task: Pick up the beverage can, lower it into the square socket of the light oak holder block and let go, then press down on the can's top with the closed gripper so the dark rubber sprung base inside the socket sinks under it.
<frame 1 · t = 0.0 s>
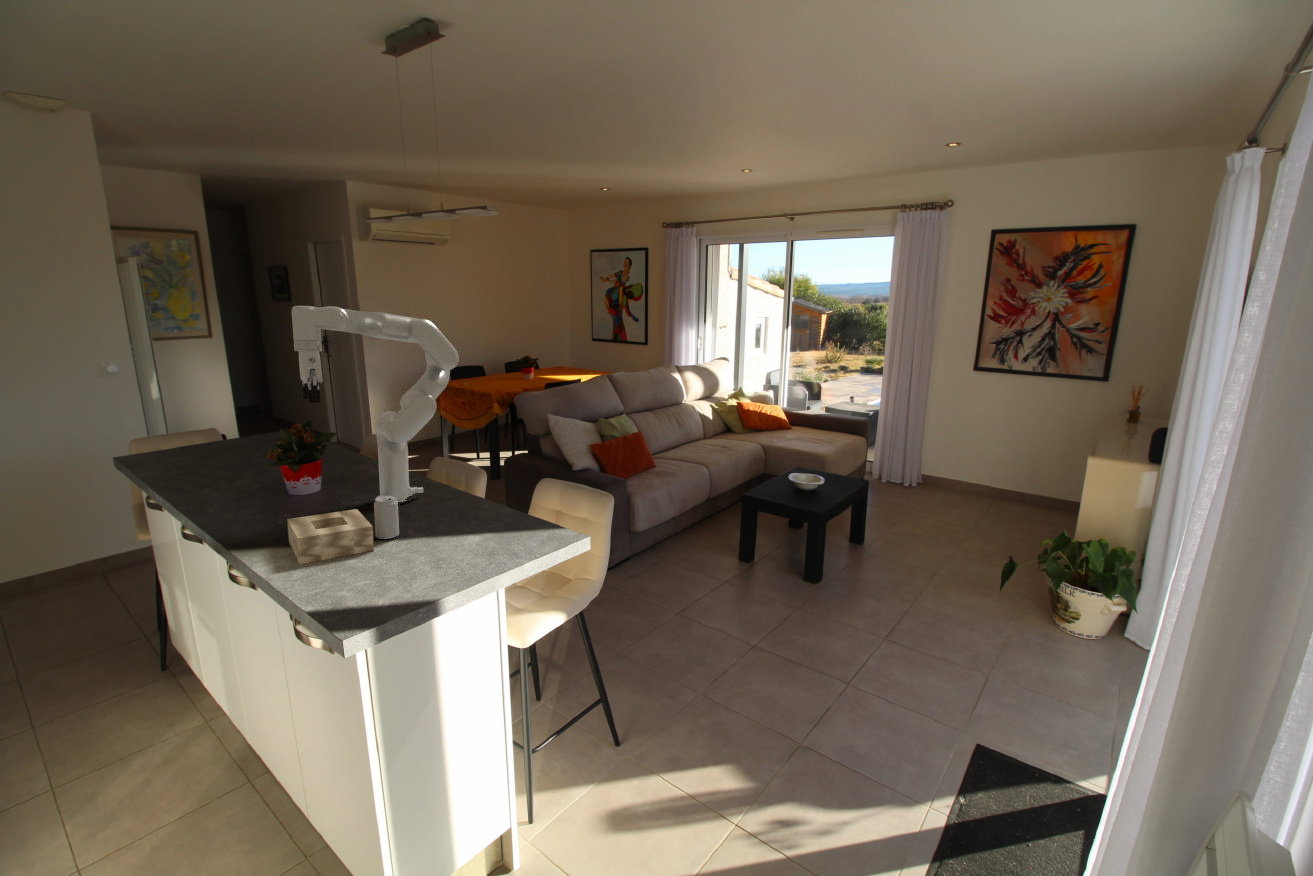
hand: (311, 400, 193), 37 cm above the countertop, tool pointing down, fingers open, 9 cm apart
beverage can: (387, 537, 180), on the countertop
holder block: (331, 547, 170), on the countertop
sprung base: (330, 538, 170), point 3 cm above the countertop, slide at 0.0 cm
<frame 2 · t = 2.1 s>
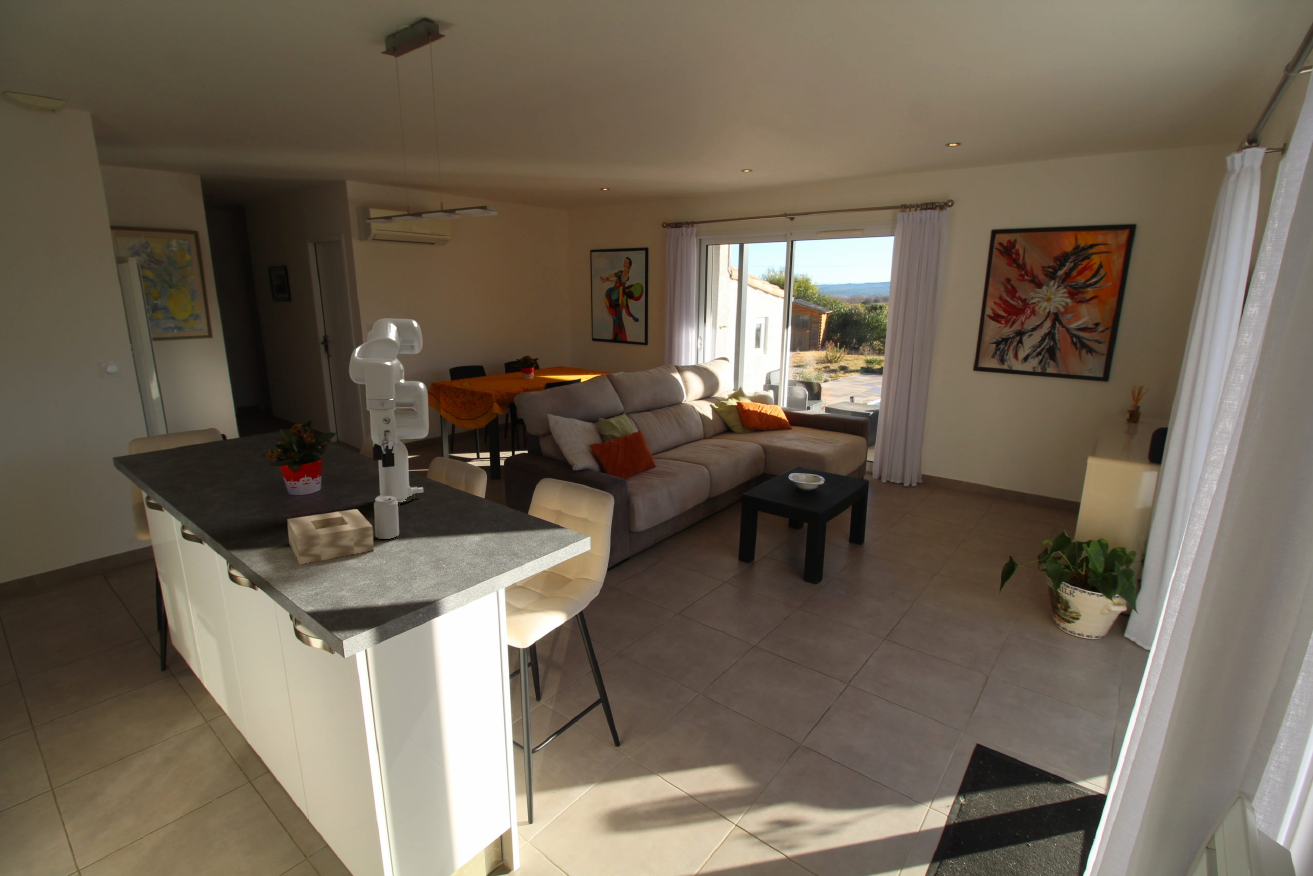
hand: (383, 463, 175), 22 cm above the countertop, tool pointing down, fingers open, 9 cm apart
nothing on the countertop moved.
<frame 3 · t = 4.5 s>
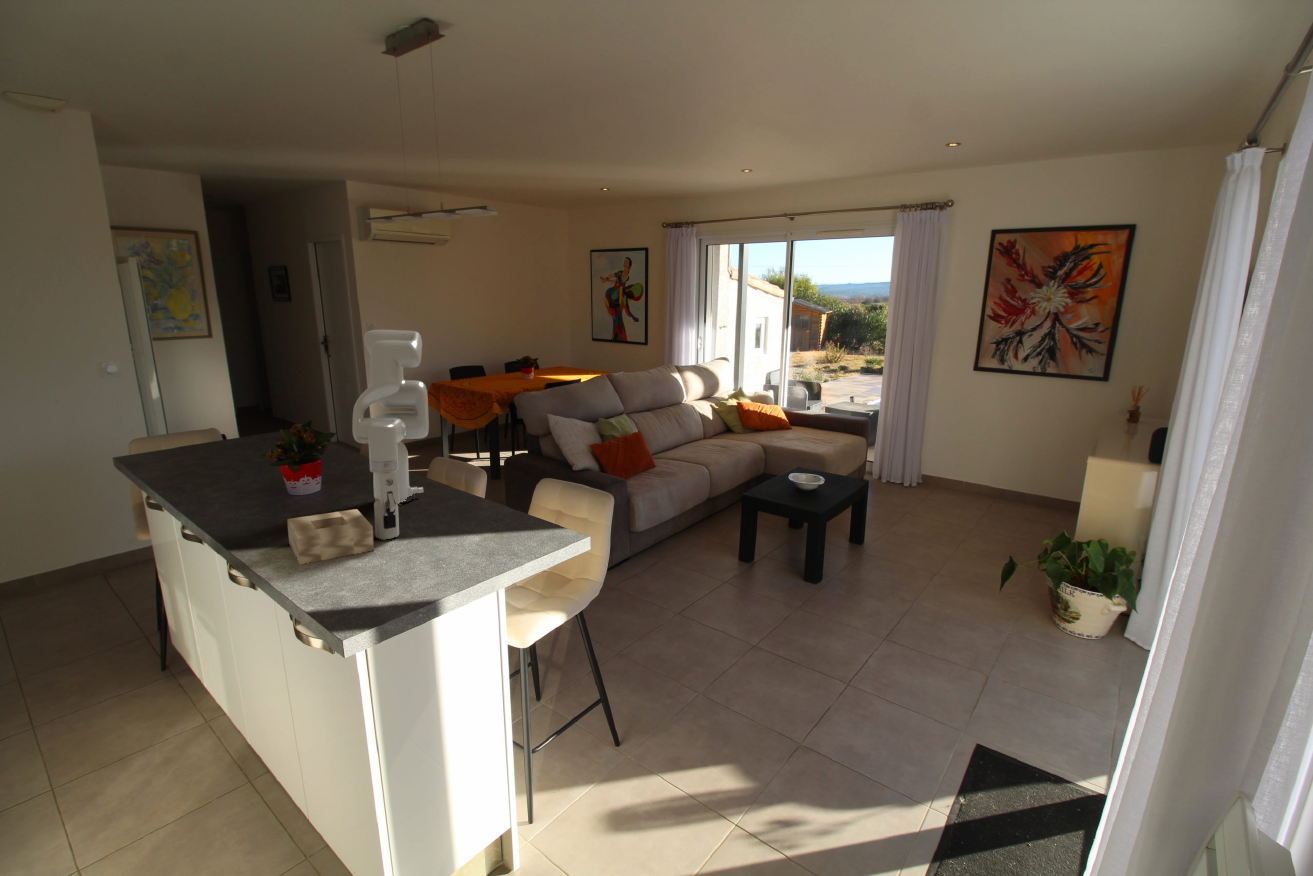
hand: (386, 524, 179), 4 cm above the countertop, tool pointing down, fingers closed on beverage can, 5 cm apart
beverage can: (387, 538, 179), on the countertop, touching gripper
everything else where it was.
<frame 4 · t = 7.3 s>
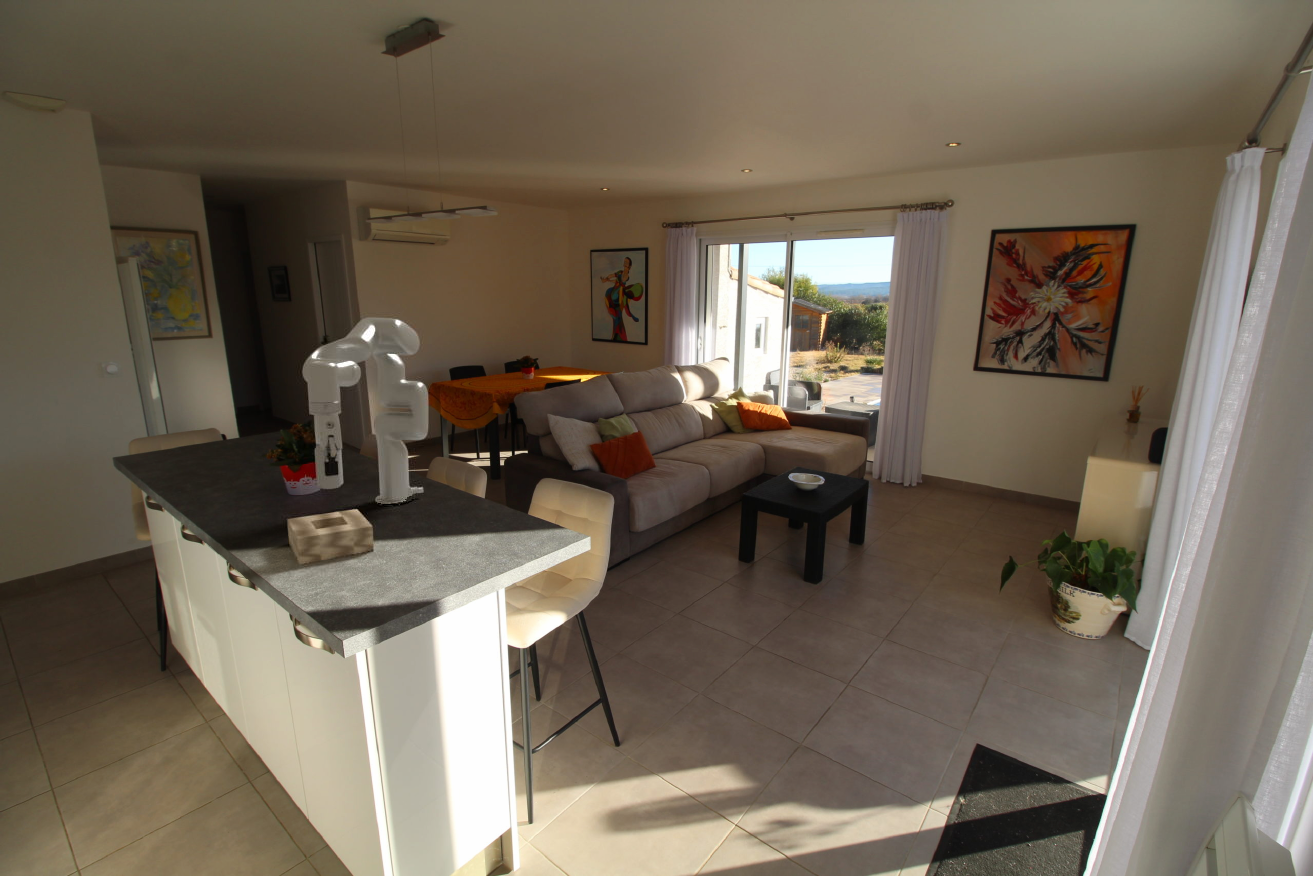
hand: (329, 472, 167), 22 cm above the countertop, tool pointing down, fingers closed on beverage can, 5 cm apart
beverage can: (330, 487, 167), point 17 cm above the countertop, touching gripper
everything else where it was.
when the fingers open (9 cm above the countertop, at t = 10.3 s): beverage can drops 2 cm, resting on sprung base.
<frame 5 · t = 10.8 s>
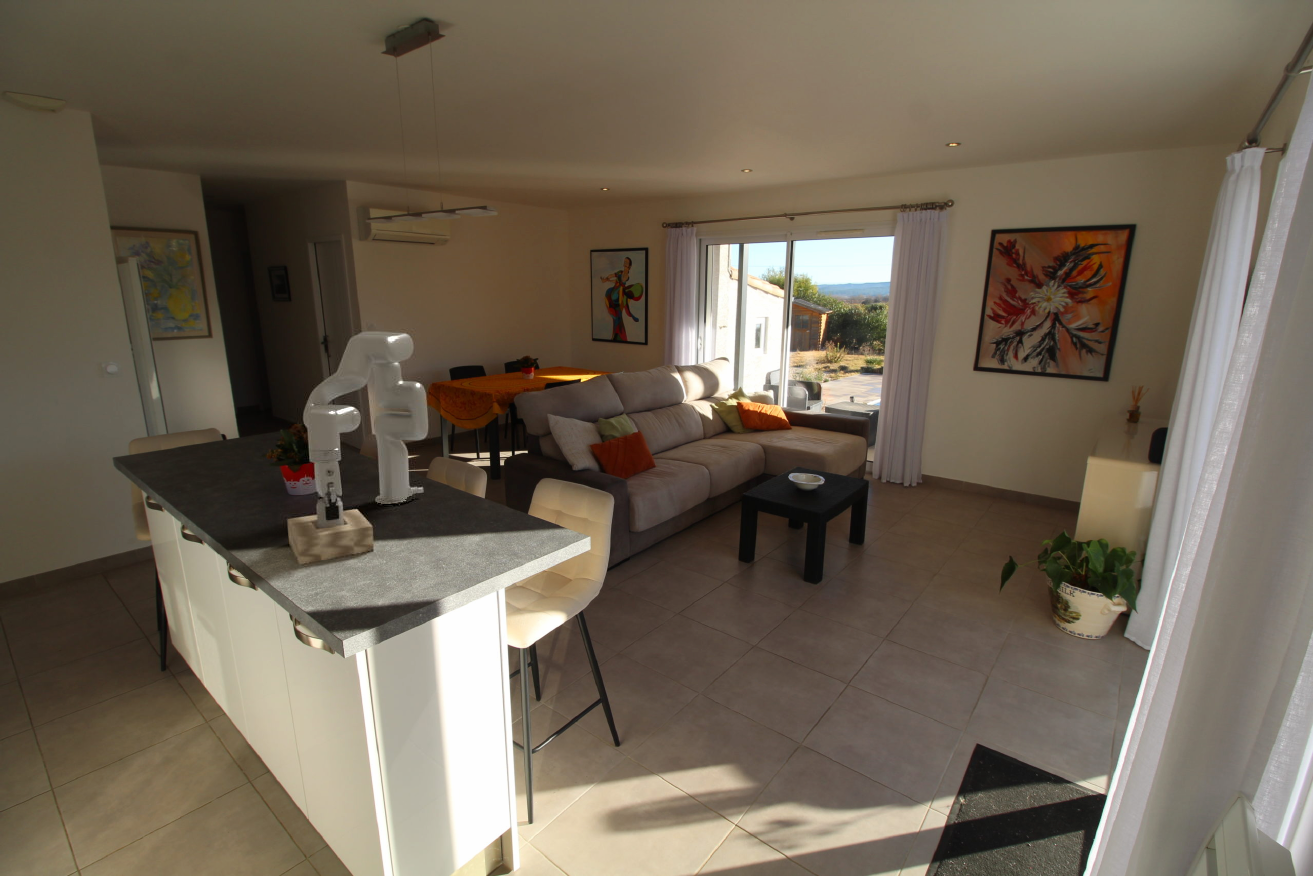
hand: (329, 514, 169), 9 cm above the countertop, tool pointing down, fingers open, 9 cm apart
beverage can: (331, 541, 170), point 2 cm above the countertop, touching sprung base
sprung base: (330, 541, 170), point 2 cm above the countertop, slide at 1.2 cm, touching beverage can
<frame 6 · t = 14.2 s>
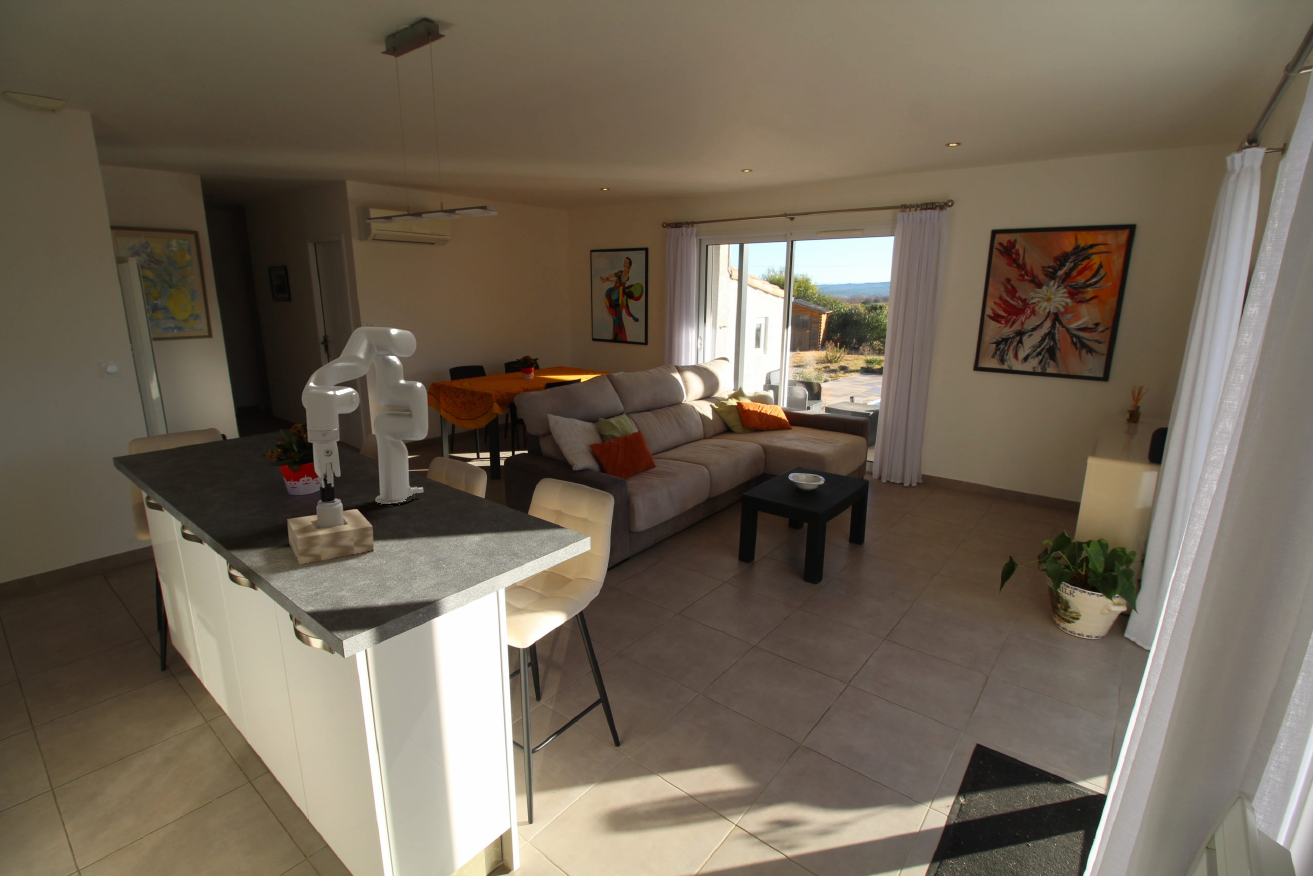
hand: (327, 500, 168), 14 cm above the countertop, tool pointing down, fingers closed
beverage can: (331, 542, 170), point 1 cm above the countertop, touching gripper, sprung base
sprung base: (330, 543, 170), point 1 cm above the countertop, slide at 1.6 cm, touching beverage can
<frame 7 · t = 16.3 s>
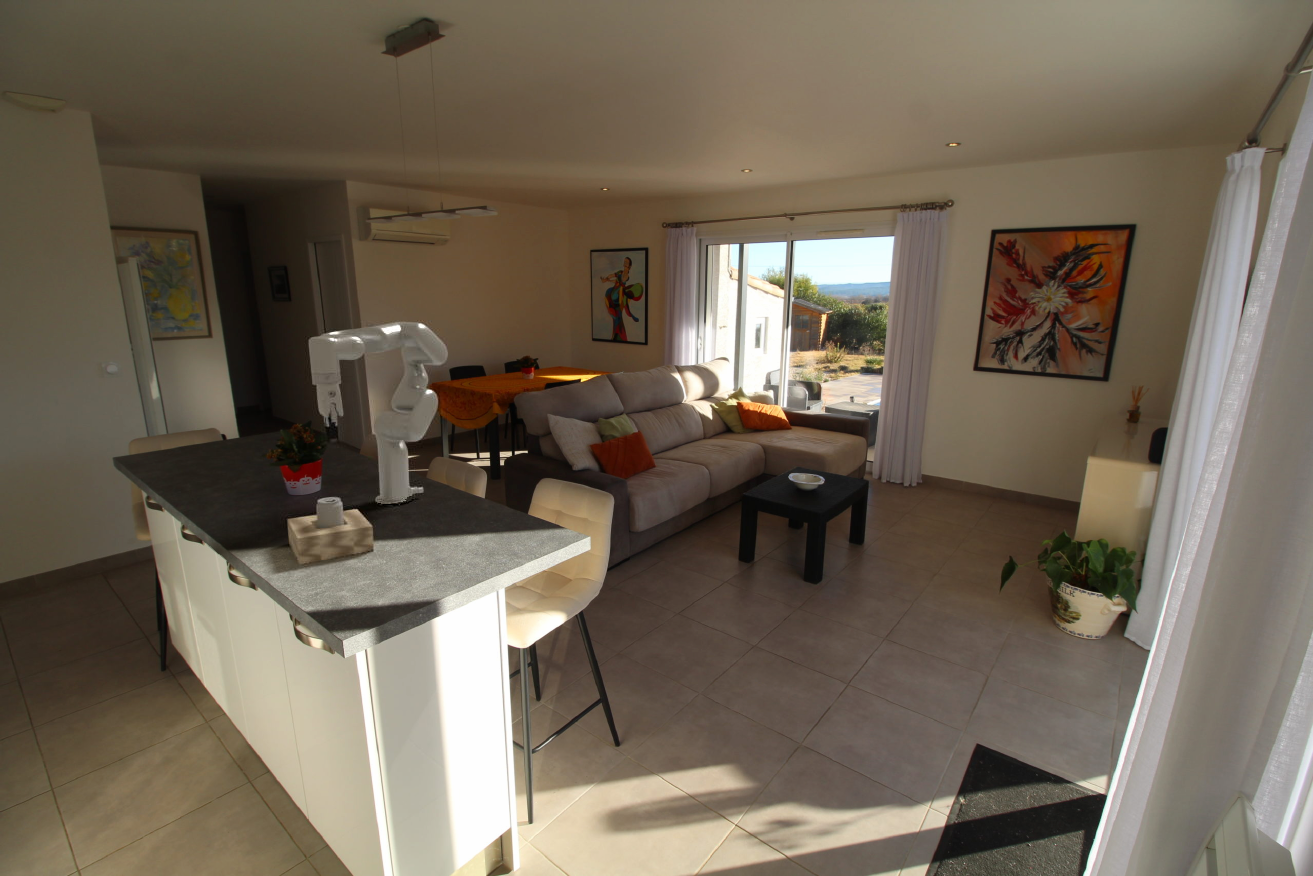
hand: (332, 438, 185), 27 cm above the countertop, tool pointing down, fingers closed
beverage can: (331, 541, 170), point 2 cm above the countertop, touching sprung base
sprung base: (330, 542, 170), point 2 cm above the countertop, slide at 1.2 cm, touching beverage can
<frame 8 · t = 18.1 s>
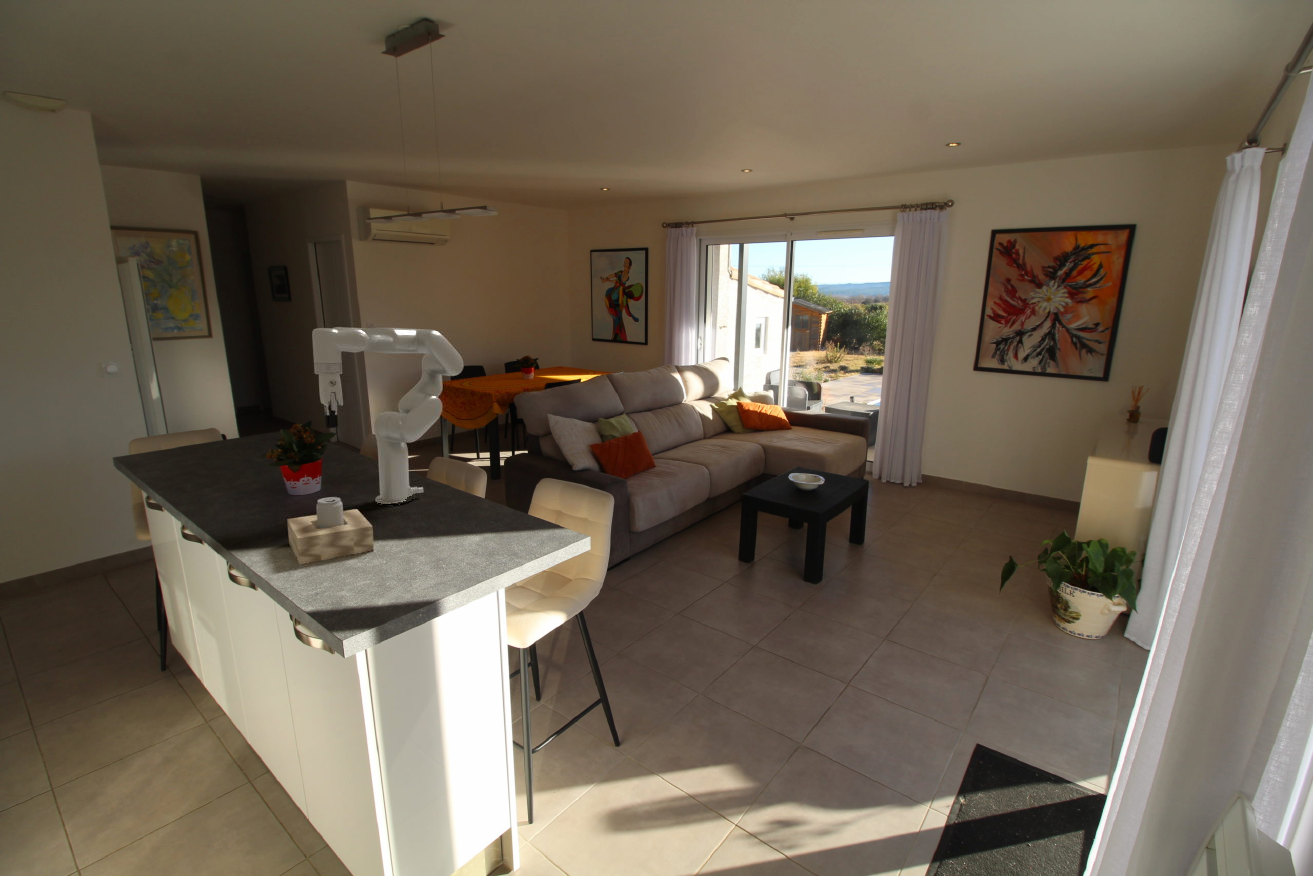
hand: (331, 427, 191), 29 cm above the countertop, tool pointing down, fingers closed
nothing on the countertop moved.
at the end: beverage can 0.7 cm off-centre on the holder block, point 1.8 cm above the holder block's base; beverage can tilted 0°; the gripper is holding nothing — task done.
